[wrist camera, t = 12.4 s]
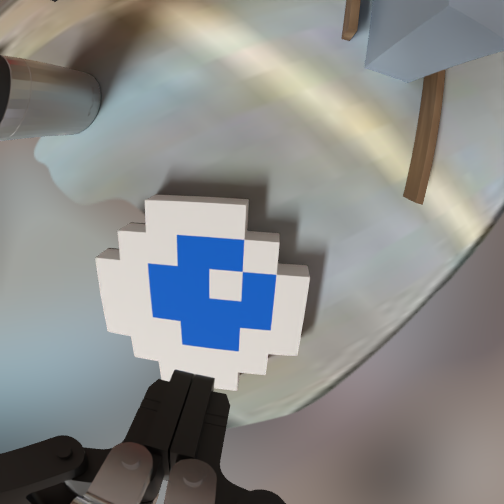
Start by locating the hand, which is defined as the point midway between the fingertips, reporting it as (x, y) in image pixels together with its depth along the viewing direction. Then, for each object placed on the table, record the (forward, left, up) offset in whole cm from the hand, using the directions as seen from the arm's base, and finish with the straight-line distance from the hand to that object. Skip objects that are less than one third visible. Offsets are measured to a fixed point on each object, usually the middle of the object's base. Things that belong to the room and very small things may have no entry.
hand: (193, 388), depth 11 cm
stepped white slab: (-5, -13, -30) cm, 33 cm away
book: (+13, +28, -29) cm, 43 cm away
